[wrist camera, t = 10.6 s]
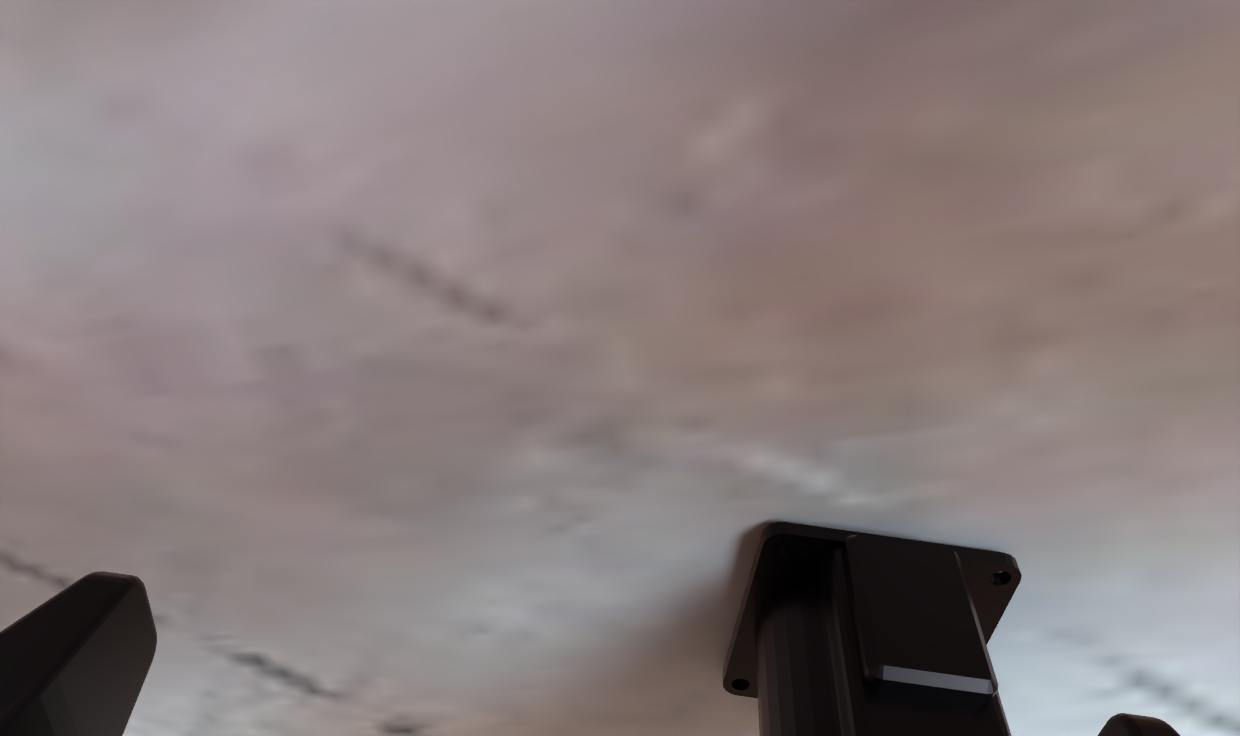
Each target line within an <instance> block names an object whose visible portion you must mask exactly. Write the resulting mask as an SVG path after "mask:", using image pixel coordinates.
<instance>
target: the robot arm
mask: <svg viewBox="0 0 1240 736" xmlns="http://www.w3.org/2000/svg"><path fill="white" fill-rule="evenodd" d="M778 541H788V542H787V543H784V544H779V543H776V542H778ZM998 571H1003V572H1001V573H996V572H998ZM994 573H996V574H994ZM1020 580H1021V573H1020V570H1019V568H1018V565H1017V562H1016V560H1015V558H1014V557H1012V556H1011V555H1009V554H1006V553H1002V552H994V551H987V550H980V549H973V548H966V547H959V546H952V545H945V544H937V543H930V542H923V541H916V540H909V539H902V538H895V537H887V536H880V535H873V534H866V533H859V532H852V531H845V530H838V529H830V528H823V527H816V526H809V525H802V524H795V523H788V522H777V523H774V524H771V525H769V526H768V527H767V528H765V530H764V531H763V533H762V536H761V539H760V543H759V546H758V550H757V553H756V557H755V560H754V564H753V567H752V570H751V574H750V577H749V581H748V584H747V588H746V591H745V595H744V598H743V602H742V605H741V609H740V612H739V616H738V619H737V623H736V626H735V630H734V633H733V637H732V640H731V644H730V647H729V651H728V654H727V658H726V661H725V665H724V668H723V687H724V688H725V690H726V691H728V692H729V693H731V694H734V695H739V696H746V697H753V698H758V709H759V728H760V736H1011V733H1010V730H1009V727H1008V723H1007V720H1006V717H1005V713H1004V710H1003V707H1002V703H1001V700H1000V697H999V693H998V683H997V679H996V676H995V673H994V669H993V666H992V663H991V660H990V656H989V653H988V650H987V646H986V645H987V643H988V641H989V639H990V637H991V636H992V634H993V632H994V630H995V628H996V626H997V624H998V622H999V620H1000V619H1001V617H1002V615H1003V613H1004V611H1005V609H1006V607H1007V605H1008V603H1009V602H1010V600H1011V598H1012V596H1013V594H1014V592H1015V590H1016V588H1017V586H1018V585H1019V583H1020ZM156 644H157V633H156V628H155V624H154V620H153V616H152V612H151V608H150V604H149V600H148V596H147V592H146V589H145V586H144V583H143V582H142V581H141V580H140V579H139V578H138V577H136V576H132V575H125V574H118V573H111V572H94V573H91V574H89V575H86V576H84V577H83V578H81V579H80V580H78V581H77V582H75V583H74V584H72V585H71V586H69V587H68V588H66V589H65V590H63V591H61V592H60V593H58V594H57V595H55V596H54V597H52V598H51V599H49V600H48V601H46V602H45V603H43V604H42V605H40V606H39V607H37V608H36V609H34V610H33V611H31V612H30V613H28V614H27V615H25V616H24V617H22V618H21V619H19V620H18V621H16V622H15V623H13V624H12V625H10V626H9V627H7V628H6V629H4V630H3V631H1V632H0V736H122V735H123V733H124V730H125V728H126V725H127V723H128V720H129V718H130V715H131V713H132V710H133V708H134V706H135V703H136V701H137V698H138V696H139V693H140V691H141V688H142V686H143V683H144V681H145V678H146V676H147V673H148V671H149V668H150V666H151V663H152V661H153V658H154V654H155V650H156ZM1098 736H1180V735H1179V734H1178V733H1177V732H1176V731H1175V730H1174V729H1173V728H1172V727H1171V726H1170V725H1169V724H1167V723H1166V722H1164V721H1162V720H1160V719H1157V718H1154V717H1147V716H1139V715H1132V714H1125V713H1120V714H1117V715H1114V716H1113V717H1111V718H1110V719H1109V720H1108V722H1107V723H1106V725H1105V726H1104V727H1103V729H1102V730H1101V732H1100V733H1099V735H1098Z"/></svg>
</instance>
